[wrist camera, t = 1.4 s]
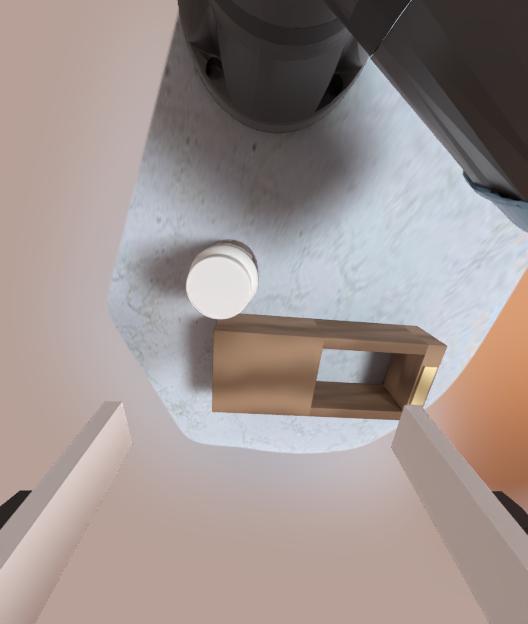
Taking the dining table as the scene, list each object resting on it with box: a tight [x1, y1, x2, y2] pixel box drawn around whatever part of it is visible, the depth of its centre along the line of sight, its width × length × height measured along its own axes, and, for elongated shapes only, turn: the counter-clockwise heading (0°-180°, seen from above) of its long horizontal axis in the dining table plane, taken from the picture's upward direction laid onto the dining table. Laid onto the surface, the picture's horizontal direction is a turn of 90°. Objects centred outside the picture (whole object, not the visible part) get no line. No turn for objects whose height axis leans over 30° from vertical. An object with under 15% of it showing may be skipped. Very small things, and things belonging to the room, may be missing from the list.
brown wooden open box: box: [212, 314, 447, 420], centre depth 29 cm, size 10×24×5 cm, turn 85°
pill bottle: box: [186, 240, 259, 319], centre depth 22 cm, size 6×6×10 cm
